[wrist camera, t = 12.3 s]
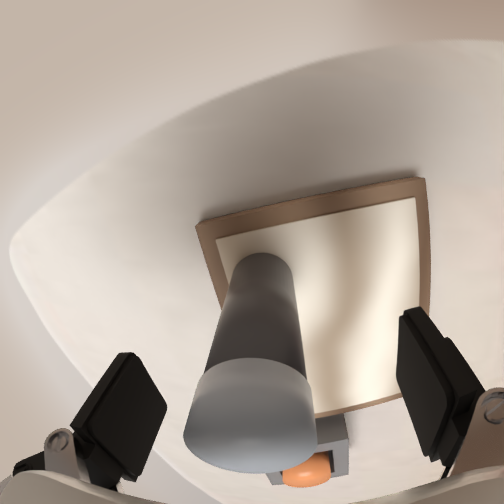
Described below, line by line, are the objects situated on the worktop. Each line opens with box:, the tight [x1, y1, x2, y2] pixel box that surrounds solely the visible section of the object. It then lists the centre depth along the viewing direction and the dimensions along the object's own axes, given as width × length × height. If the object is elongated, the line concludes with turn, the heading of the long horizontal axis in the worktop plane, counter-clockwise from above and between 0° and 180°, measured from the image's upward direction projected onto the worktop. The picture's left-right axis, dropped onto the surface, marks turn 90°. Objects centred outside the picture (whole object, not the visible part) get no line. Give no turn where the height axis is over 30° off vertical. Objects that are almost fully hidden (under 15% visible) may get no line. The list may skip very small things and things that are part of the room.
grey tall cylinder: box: [183, 253, 318, 474], centre depth 12 cm, size 4×4×11 cm
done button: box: [282, 451, 331, 487], centre depth 21 cm, size 4×4×3 cm
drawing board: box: [195, 177, 431, 418], centre depth 19 cm, size 14×18×1 cm
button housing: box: [266, 413, 349, 485], centre depth 22 cm, size 8×8×4 cm
